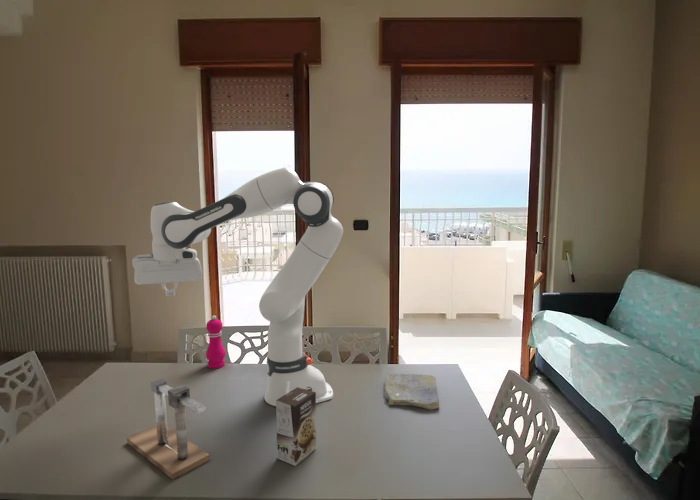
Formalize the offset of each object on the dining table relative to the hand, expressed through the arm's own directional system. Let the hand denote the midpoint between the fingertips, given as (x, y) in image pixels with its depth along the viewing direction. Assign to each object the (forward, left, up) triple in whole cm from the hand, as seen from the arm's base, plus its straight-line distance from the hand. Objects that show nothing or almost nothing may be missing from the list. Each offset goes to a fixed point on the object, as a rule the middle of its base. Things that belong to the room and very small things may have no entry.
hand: (170, 295), depth 146 cm
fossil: (-73, +27, -35) cm, 85 cm away
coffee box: (-30, +46, -34) cm, 65 cm away
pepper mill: (-14, -21, -34) cm, 43 cm away
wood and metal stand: (+2, +33, -34) cm, 47 cm away
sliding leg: (-2, +39, -32) cm, 51 cm away
